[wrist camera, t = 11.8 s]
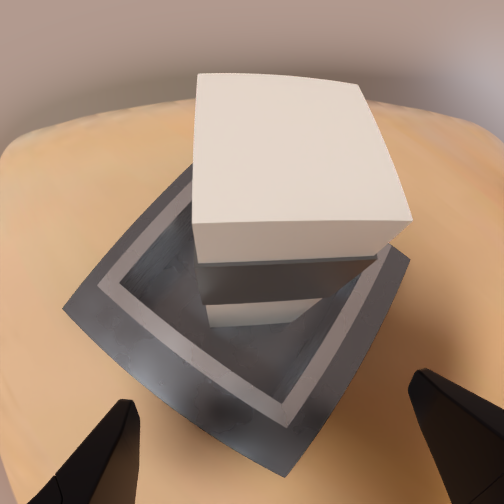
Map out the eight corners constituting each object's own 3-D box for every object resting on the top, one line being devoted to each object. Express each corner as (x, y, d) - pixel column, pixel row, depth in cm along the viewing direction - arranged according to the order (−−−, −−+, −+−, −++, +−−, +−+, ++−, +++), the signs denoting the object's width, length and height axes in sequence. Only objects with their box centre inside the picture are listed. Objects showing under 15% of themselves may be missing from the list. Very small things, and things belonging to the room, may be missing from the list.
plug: (293, 323, 17) (417, 225, 6) (208, 329, 16) (186, 228, 5) (284, 246, 19) (359, 83, 8) (205, 249, 18) (194, 72, 7)
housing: (282, 474, 14) (300, 499, 10) (66, 310, 16) (32, 292, 12) (406, 262, 20) (439, 238, 16) (221, 141, 22) (223, 101, 18)
